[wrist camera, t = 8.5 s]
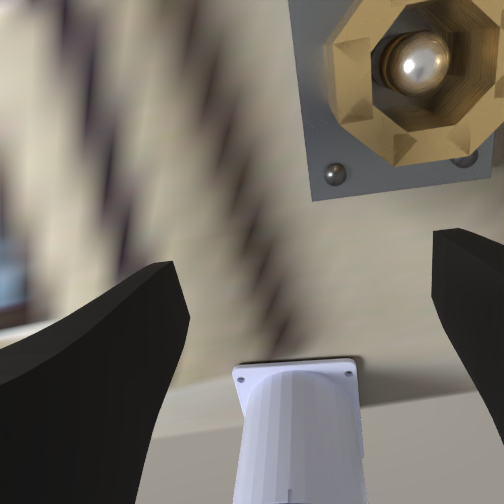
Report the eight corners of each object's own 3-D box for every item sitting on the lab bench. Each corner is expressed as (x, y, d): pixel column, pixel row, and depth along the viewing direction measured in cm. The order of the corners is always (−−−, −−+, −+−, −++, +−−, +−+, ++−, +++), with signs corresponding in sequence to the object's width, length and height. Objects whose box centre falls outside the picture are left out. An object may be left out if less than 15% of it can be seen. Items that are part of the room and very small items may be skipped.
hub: (465, 121, 17) (525, 147, 12) (332, 142, 18) (343, 174, 13) (474, -38, 14) (554, -77, 10) (318, -2, 15) (327, -23, 11)
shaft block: (479, 170, 19) (541, 212, 14) (311, 193, 20) (315, 238, 15) (503, -132, 14) (612, -228, 9) (279, -74, 15) (271, -130, 10)
